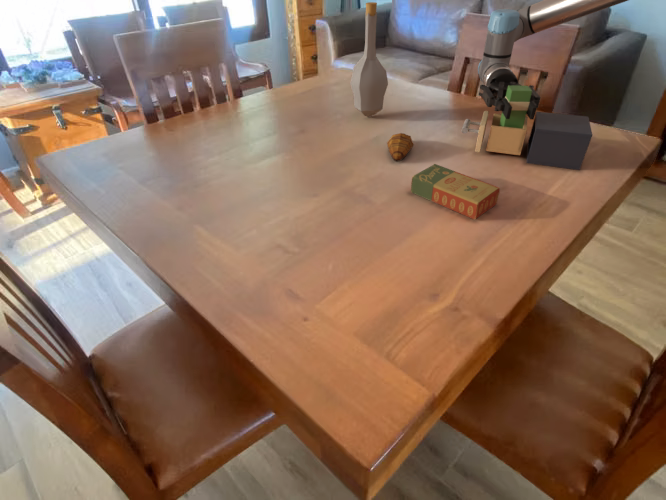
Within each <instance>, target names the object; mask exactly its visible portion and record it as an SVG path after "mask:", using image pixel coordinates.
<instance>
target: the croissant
mask: <svg viewBox="0 0 666 500" xmlns="http://www.w3.org/2000/svg"><path fill="white" fill-rule="evenodd" d="M386 145H387V148H388V152H389V154H390V157H391V159H392V160H393V161H394V162H401V161H402V160H403V159H404V158H405V157H406V156H407V155H408V153H410V151H411V150H412V148H413V147H414V145H415V144H414V141H413V139H412V136H411V135H409V134H405V133H402V132H400V133H396V134H392V135H391V137H390V138H389V139H388V141H387V142H386Z"/></svg>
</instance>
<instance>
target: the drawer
mask: <svg viewBox="0 0 666 500" xmlns="http://www.w3.org/2000/svg"><path fill="white" fill-rule="evenodd" d="M489 114H490V111H488V110H484V111H483V114H482V117H481V120H480V122H479V121H472V120H471V119H470V118H466V119H465V120H464V122H463V124H462V128H461V130H460V131H461V133H462V134H468V133H475V134H476V133H477V139H476V144H475V149H474V153H481V150H482V145H483V141H484V137H485V134H486V128H487V124H488V119H489ZM501 115H502V113H493V115H492V121H491V125H490V129H489V134H488V138H487V144H486V148H485V151H486V152H491V153H499V154H507V155H514V156H521V154H522V151H523V146H524V142H525V138H526V136H527V131H528V119H529V117H528V116H526V117H525V121H524V125H523V129H521V128H512V127H503V126H499V124H500V120H501ZM471 126H479V128H478V129H475V128H471Z"/></svg>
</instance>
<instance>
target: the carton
mask: <svg viewBox="0 0 666 500" xmlns="http://www.w3.org/2000/svg"><path fill="white" fill-rule="evenodd" d="M500 191H501V188H500V187H499V186H496V185H494V184H491V183H489V182H486V181H483V180H480V179H477V178H475V177H471V176H469V175H466V174H464V173H461V172H458V171H456V170H453V169H450V168H448V167H444V166H442V165H438V164H436V163H433V164H431V165H430V166H428V167H427V168H425V169H423V170H422V171H419V172H417V173H416V174H414V175H412V176H411V184H410V192H411V194H414V195H417V196H419V197H421V198H423V199H426V200H428V201H429V202H432V203H435V204H437V205H440V206H442V207H445V208H447V209H449V210H452V211H454V212H456V213H459V214H461V215H463V216H464V217H465V216H466V217H467V218H470V219H472V220H476V219H477V218H479V217H481V216H482V215H483V214H484V213H486V212H487V211H489V210H491V209H492V208H493V207H495V206H496V205H497V204H498V200H499V195H500Z"/></svg>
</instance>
